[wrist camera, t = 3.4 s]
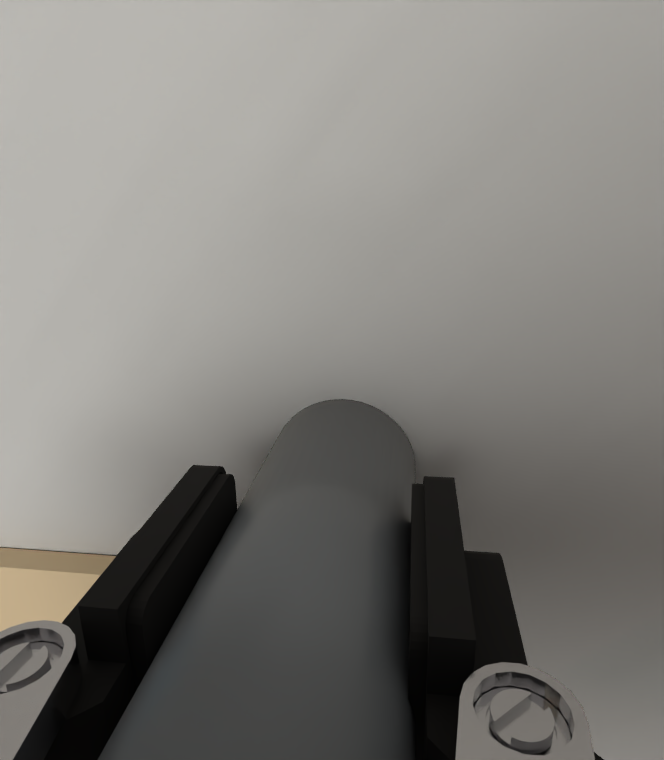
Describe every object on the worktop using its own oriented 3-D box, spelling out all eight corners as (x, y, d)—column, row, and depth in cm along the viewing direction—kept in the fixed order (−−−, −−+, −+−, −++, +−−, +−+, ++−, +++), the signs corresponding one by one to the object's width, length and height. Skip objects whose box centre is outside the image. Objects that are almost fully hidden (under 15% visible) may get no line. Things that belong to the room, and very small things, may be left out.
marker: (421, 397, 13) (472, 1993, 1) (417, 536, 14) (426, 2044, 3) (266, 392, 13) (-603, 1559, 2) (273, 526, 14) (-246, 1756, 3)
